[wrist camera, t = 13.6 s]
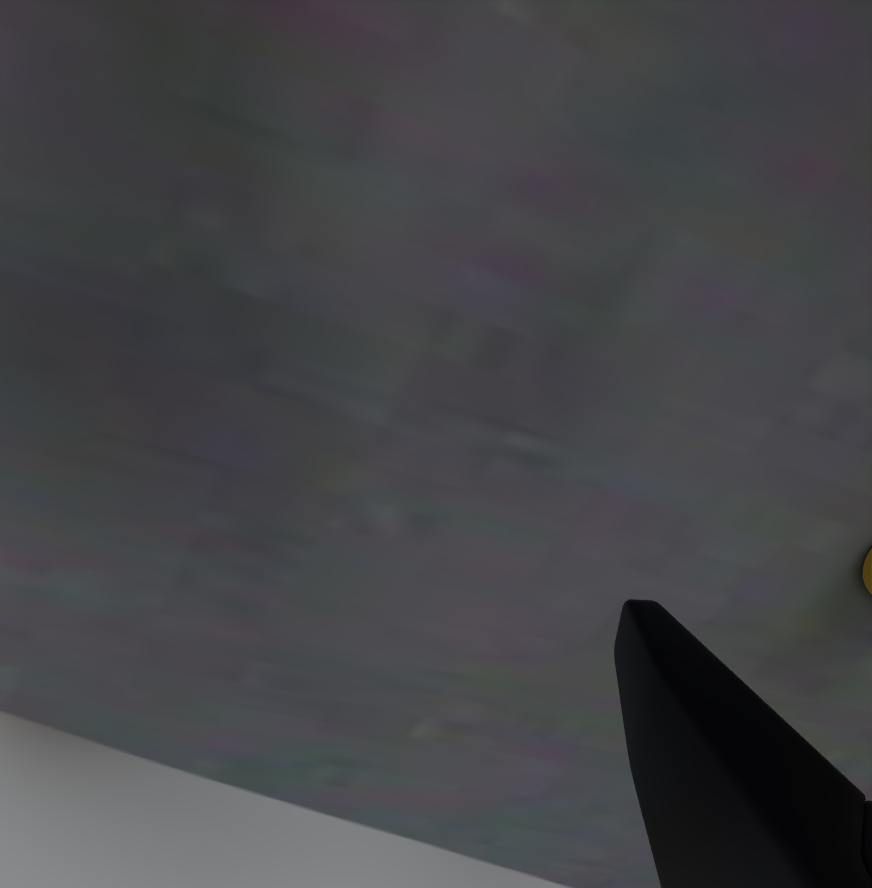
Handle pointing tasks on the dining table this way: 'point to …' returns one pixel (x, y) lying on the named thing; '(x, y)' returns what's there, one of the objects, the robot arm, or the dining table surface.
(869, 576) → the chess piece
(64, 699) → the dining table surface
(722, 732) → the robot arm
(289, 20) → the dining table surface
